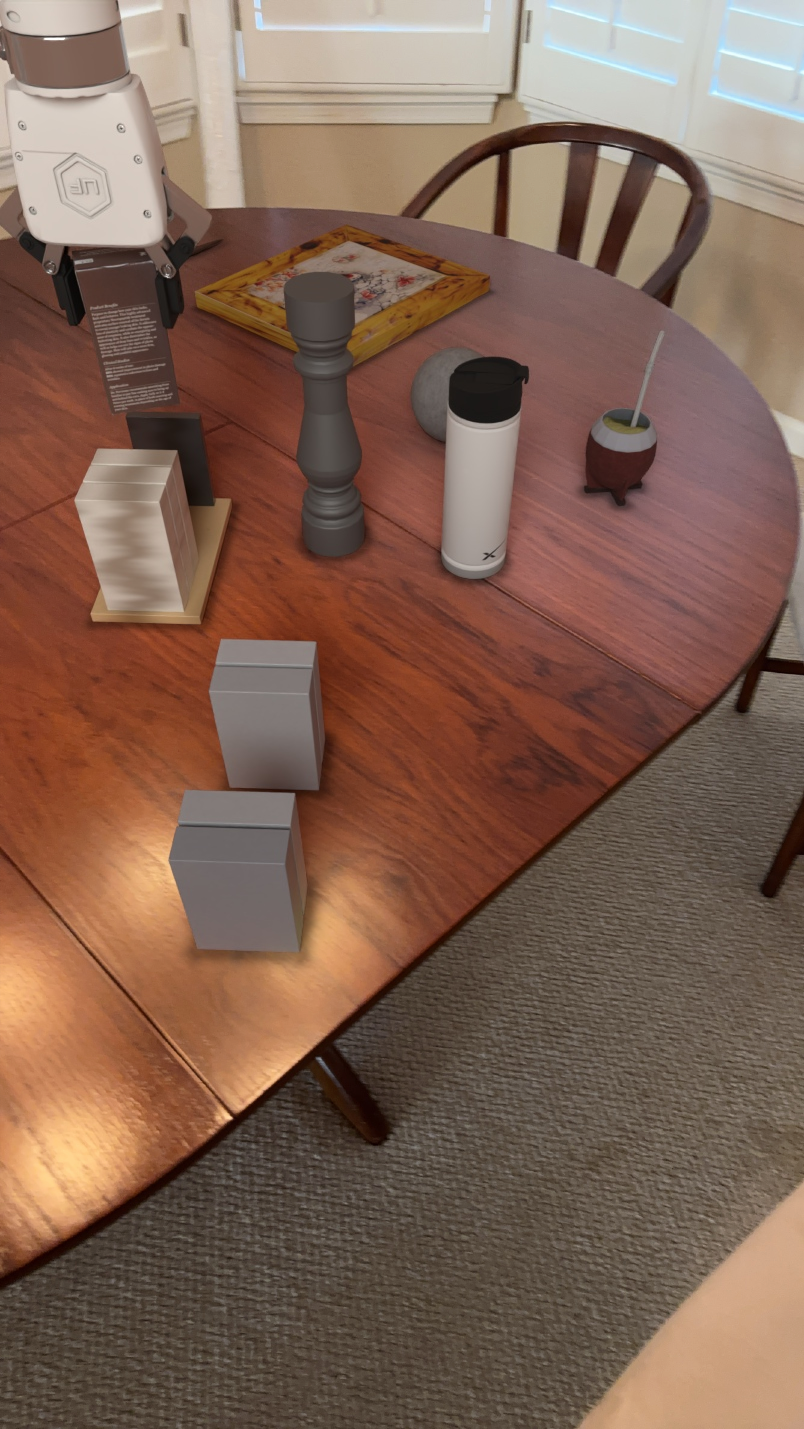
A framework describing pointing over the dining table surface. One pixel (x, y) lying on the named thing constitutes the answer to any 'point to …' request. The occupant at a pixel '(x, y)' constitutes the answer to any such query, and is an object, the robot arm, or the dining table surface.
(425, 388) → the decorative ball
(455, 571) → the travel mug
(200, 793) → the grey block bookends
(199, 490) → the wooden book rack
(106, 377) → the box
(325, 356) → the candle holder
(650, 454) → the mate gourd
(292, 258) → the picture frame
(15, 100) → the robot arm
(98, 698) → the dining table surface
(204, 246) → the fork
